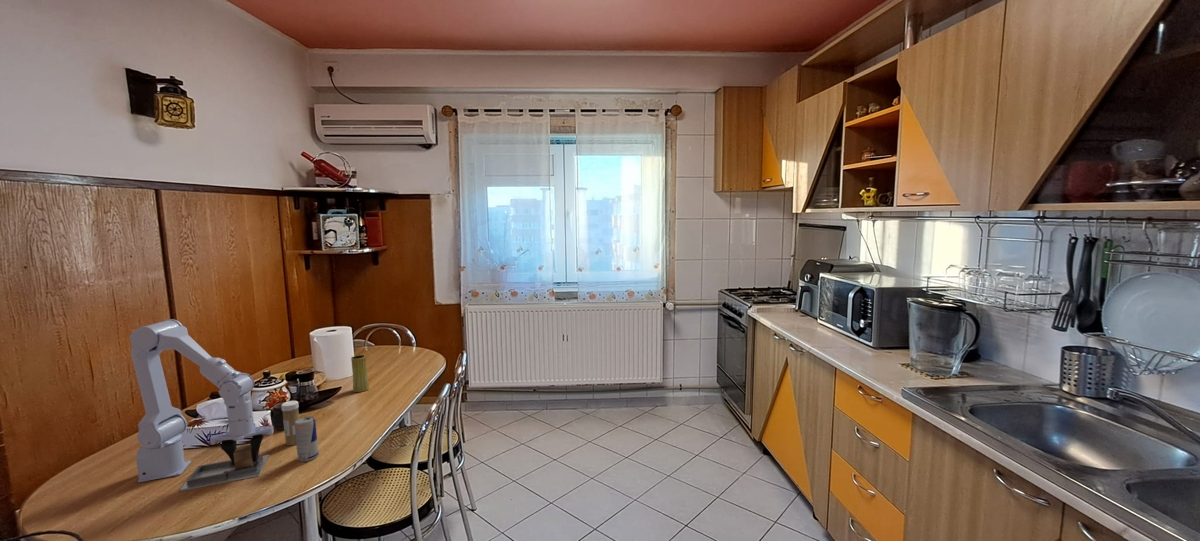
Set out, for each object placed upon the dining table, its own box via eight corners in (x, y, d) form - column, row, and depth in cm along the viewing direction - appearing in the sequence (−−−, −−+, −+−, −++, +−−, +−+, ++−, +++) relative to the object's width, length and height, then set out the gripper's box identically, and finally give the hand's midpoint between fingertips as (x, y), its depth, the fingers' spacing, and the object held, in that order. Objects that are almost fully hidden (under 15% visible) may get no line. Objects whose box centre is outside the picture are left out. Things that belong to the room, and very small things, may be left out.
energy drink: (322, 452, 146) (318, 415, 144) (312, 461, 140) (308, 423, 139) (304, 453, 146) (300, 416, 144) (294, 462, 140) (290, 424, 139)
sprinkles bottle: (302, 443, 152) (298, 403, 150) (285, 447, 149) (281, 406, 148) (301, 437, 156) (297, 398, 154) (285, 441, 153) (281, 402, 152)
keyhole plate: (180, 491, 126) (179, 485, 126) (197, 469, 137) (196, 463, 137) (258, 476, 133) (258, 470, 133) (269, 456, 144) (268, 450, 144)
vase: (354, 388, 199) (351, 355, 198) (370, 386, 201) (367, 353, 199) (351, 393, 194) (348, 359, 192) (367, 391, 196) (365, 358, 194)
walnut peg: (235, 472, 134) (233, 453, 133) (240, 466, 138) (237, 446, 137) (252, 469, 136) (250, 450, 135) (256, 462, 139) (254, 443, 139)
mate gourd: (270, 426, 164) (268, 398, 163) (296, 420, 169) (293, 393, 168) (273, 433, 159) (271, 405, 158) (299, 426, 164) (297, 399, 163)
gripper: (203, 428, 129) (209, 474, 130) (267, 418, 134) (272, 462, 136) (213, 417, 135) (218, 462, 137) (273, 408, 141) (277, 451, 142)
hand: (245, 461), depth 137 cm, fingers open, 4 cm apart
